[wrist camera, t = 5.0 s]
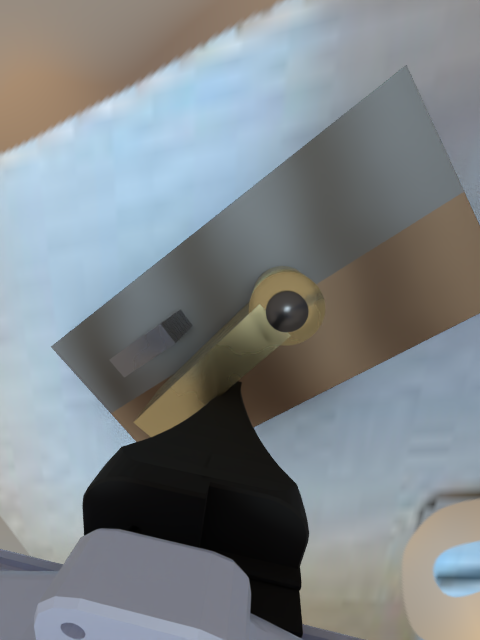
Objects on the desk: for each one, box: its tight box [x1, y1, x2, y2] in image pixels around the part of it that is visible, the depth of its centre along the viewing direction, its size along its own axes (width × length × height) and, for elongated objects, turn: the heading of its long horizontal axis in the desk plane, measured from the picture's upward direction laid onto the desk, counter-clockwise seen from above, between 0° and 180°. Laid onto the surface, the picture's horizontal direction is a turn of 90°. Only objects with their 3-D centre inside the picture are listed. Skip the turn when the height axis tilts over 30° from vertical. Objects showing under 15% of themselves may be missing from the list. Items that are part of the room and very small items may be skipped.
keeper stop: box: [110, 309, 192, 377], centre depth 11 cm, size 3×1×2 cm, turn 125°
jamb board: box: [51, 65, 480, 442], centre depth 13 cm, size 20×10×1 cm, turn 125°
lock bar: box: [133, 266, 325, 437], centre depth 11 cm, size 9×3×3 cm, turn 135°
